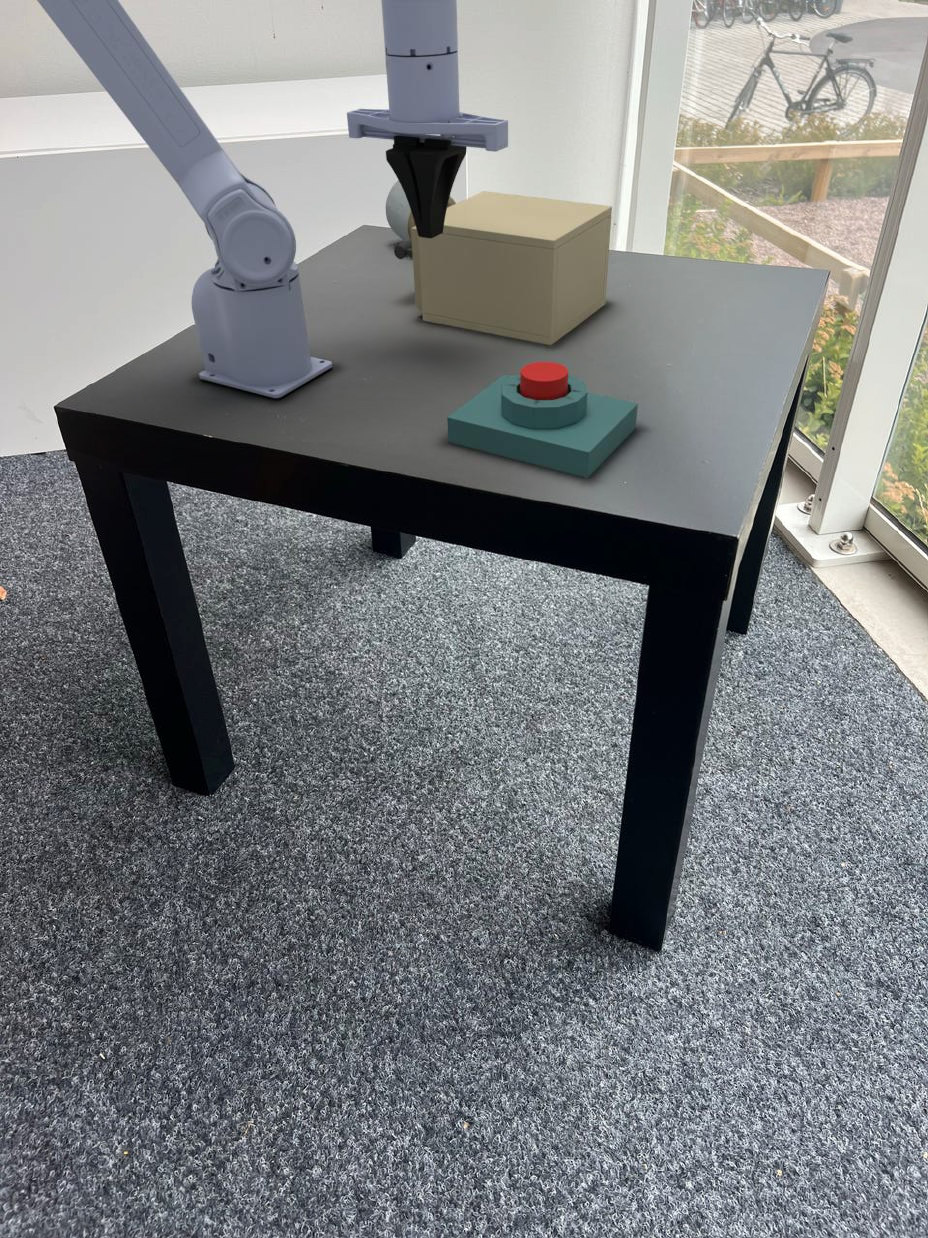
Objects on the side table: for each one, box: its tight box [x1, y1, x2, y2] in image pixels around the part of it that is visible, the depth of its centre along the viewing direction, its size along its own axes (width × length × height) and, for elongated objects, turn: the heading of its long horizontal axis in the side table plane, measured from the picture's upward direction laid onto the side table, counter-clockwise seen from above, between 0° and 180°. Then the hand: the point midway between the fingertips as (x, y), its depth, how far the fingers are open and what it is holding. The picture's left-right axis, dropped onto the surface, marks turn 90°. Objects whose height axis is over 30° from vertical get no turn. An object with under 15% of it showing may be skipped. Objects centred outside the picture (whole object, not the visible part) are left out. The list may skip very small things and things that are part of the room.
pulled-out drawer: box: [393, 226, 422, 310], centre depth 90 cm, size 18×11×8 cm, turn 59°
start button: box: [519, 361, 569, 400], centre depth 67 cm, size 4×4×2 cm
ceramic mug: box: [385, 179, 457, 242], centre depth 108 cm, size 11×8×8 cm
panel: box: [446, 373, 639, 479], centre depth 69 cm, size 12×9×4 cm
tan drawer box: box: [418, 190, 613, 346], centre depth 88 cm, size 15×13×10 cm
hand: (430, 234), depth 78 cm, fingers closed
